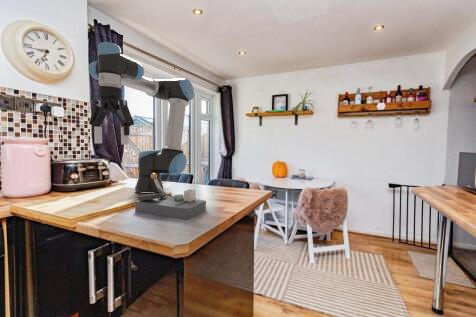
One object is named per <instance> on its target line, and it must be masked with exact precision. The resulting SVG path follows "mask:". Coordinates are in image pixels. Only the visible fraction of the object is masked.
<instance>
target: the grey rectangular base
mask: <svg viewBox="0 0 476 317" xmlns="http://www.w3.org/2000/svg"><path fill="white" fill-rule="evenodd" d="M134 203H135V204H134V205H135V206H134V208H135V209H134V212H137V213H143V214H147V215H155V216H162V217H166V218H173V219H180V220H185V221H187V220H190V219H191V218H194V217H196V216H197V215H200V214H201V213H203V212H205V211H207V201H206V200H202V199H196V198H195V200H193V201H191V202H189V201H184V194H181V193H180V194H179V193H177V194H174V196H169V195H166V196H165V197H163V198H160V197H159V198H156V199H153V200H141V201H139V200H137V201H135V202H134Z"/></svg>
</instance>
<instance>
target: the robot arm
mask: <svg viewBox="0 0 476 317" xmlns="http://www.w3.org/2000/svg"><path fill="white" fill-rule="evenodd" d="M96 55H97V61H92V62H90V64H89V65H88V73H89V75H90V76H91V78H92V79H94V80H97V81H98V85H99V87H98V96H99V97H100V98H101V99H100V100H97V99H96V100H94V106H93V109H92V112H91V116H90V118H89V122H88V124H89V125H90V126H92V127H93V135H94V136H93V137H94V144H103V126H102V124H103V122H104V120H105V119H106V117H107V115H109V113H114V115H115V116H116V117H117V119H118V121H119V122H120V124H121V126H120V142H121V143H120V144H121V145H129V137H130V135H131V133H130V131H131V130H130V128H131V126H134V125H135V121H134V119H133V116H132V114H131V111H130V109H129V106H128V101H127V99H122V97H123V96H122V89H121V88H122V87H123V86H124V87H127V88H131V89H133V90H136V91H140V92H143V93H145V94H146V95H147V96H149V97H153V98H156V99H160V100H162V101H167V102H168V103H169V111H168V120H167V126H166V135H165V145H164V146H163V147H162V148H161V149H151V150H149V149H148V150H143V151H140V152H139V153H138V159H137V160H138V161H137V162H138V178H137V181H136V184H135V187H134V192H135V191H136V192H159V190H158V188H157V186H156V184H155V181H154V179H152V178H151V174H152V173H156V174H157V180H158V182H159V184H160V186H161V189H162V191H163V192H164V185H163V182H162V177H161V174H164V175H173V176H174V175H180V174H182V173H183V172H184V171H185V169H186V166H187V161H188V160H187V156H186V154H184V149H183V148H182V142H183V135H184V134H183V133H184V124H185V115H186V108H187V106H189V104H190V101H192V100H193V99H194V96H195V90H194V86H193V83H192V81H190V79H187V78H172V79H171V78H170V79H168V78H167V79H155V78H153V77H152V78H149V77H145V76H144V74H145V68H144V66H143V65H142V64H141V63H140V62H138V61H136V60H134V59H132V58H129V57H127V56H125V55H123V54H122V49H121V47H120V46H119V45H118V44H116V43H114V42H109V41H103V42H100V43H98V45H97V54H96ZM136 192H135V193H136Z"/></svg>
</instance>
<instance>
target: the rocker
mask: <svg viewBox="0 0 476 317" xmlns="http://www.w3.org/2000/svg"><path fill="white" fill-rule="evenodd" d="M159 197H161V193H149V194H142V195H140V196H137V198H138V200H137V201H141V200H153V199H156V198H159Z"/></svg>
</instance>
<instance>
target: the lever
mask: <svg viewBox="0 0 476 317" xmlns="http://www.w3.org/2000/svg"><path fill="white" fill-rule="evenodd" d="M151 178H152V179H154V181H155V184H156V186H157V188H158V190H159V193H161V197H160V198H163V197H165V196H167V192H164V190H163V191H162V189H161V186H160V184H159V182H158V180H157V174H156V173H152V174H151Z"/></svg>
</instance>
